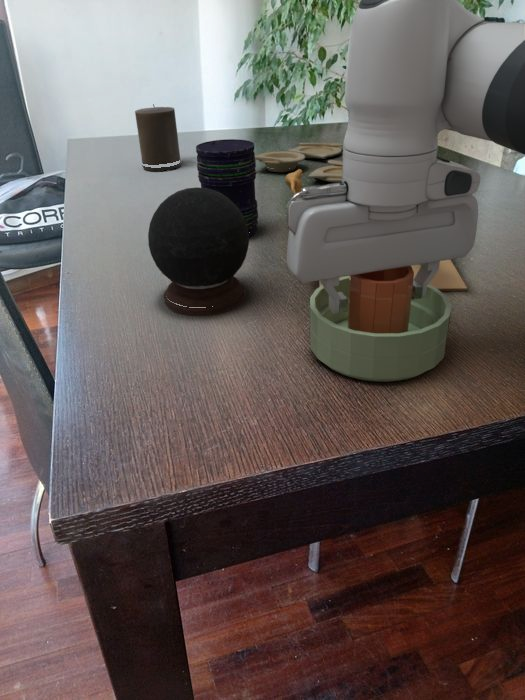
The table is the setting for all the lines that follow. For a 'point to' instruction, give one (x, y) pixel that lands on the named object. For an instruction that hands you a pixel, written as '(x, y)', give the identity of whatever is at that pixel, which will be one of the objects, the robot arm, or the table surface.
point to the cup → (380, 300)
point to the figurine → (295, 181)
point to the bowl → (380, 339)
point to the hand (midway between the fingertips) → (377, 303)
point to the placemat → (442, 277)
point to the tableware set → (306, 150)
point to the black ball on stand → (199, 250)
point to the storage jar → (231, 174)
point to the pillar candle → (158, 137)
